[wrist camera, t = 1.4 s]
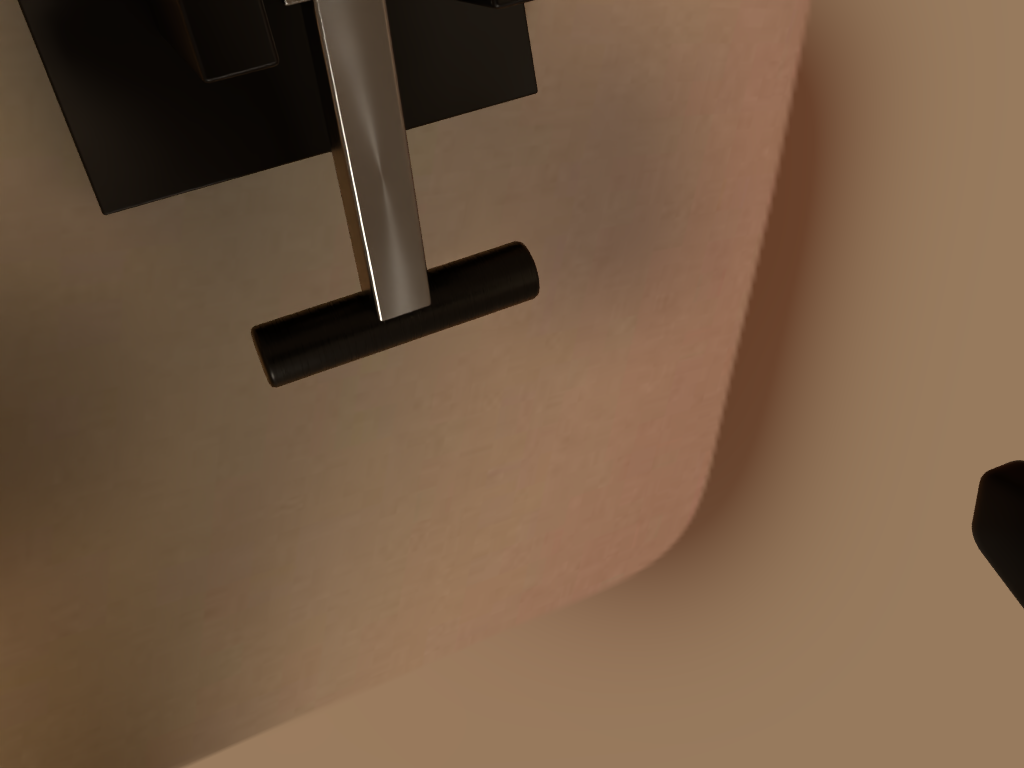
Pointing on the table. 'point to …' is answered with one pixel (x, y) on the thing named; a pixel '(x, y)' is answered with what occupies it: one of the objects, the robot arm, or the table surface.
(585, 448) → the table surface
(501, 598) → the table surface
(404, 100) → the lever bracket
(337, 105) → the switch lever
